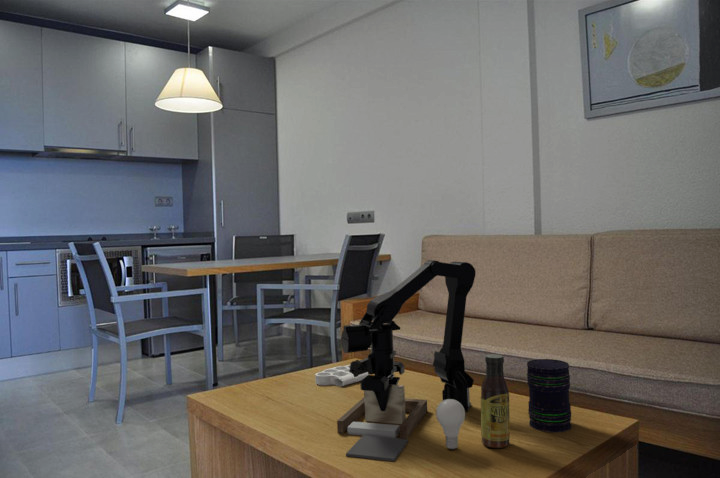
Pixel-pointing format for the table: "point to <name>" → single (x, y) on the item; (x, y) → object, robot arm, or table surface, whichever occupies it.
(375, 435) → the offcut bottom
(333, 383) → the knuckle duster
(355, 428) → the offcut top
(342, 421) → the frame
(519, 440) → the table surface
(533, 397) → the dark blue cylinder
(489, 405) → the sauce bottle
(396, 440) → the mat
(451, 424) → the lightbulb
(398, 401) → the pale wooden block
